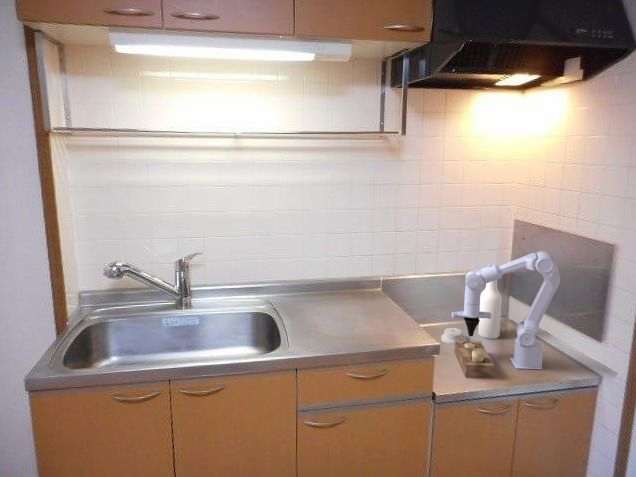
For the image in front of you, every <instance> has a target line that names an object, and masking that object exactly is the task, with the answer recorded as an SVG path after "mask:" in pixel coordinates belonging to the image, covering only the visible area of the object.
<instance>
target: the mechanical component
mask: <svg viewBox="0 0 636 477" xmlns="http://www.w3.org/2000/svg"><path fill="white" fill-rule="evenodd" d="M463 334H464V333H463V330H461V329H459V328H458V327H457V328H456V327H447V328H445V329H444V333H443V334H441V338H440V339H441V341H442V343H445V344H448V345H452V346H455V341H466V337H465V336H464V335H463Z"/></svg>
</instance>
